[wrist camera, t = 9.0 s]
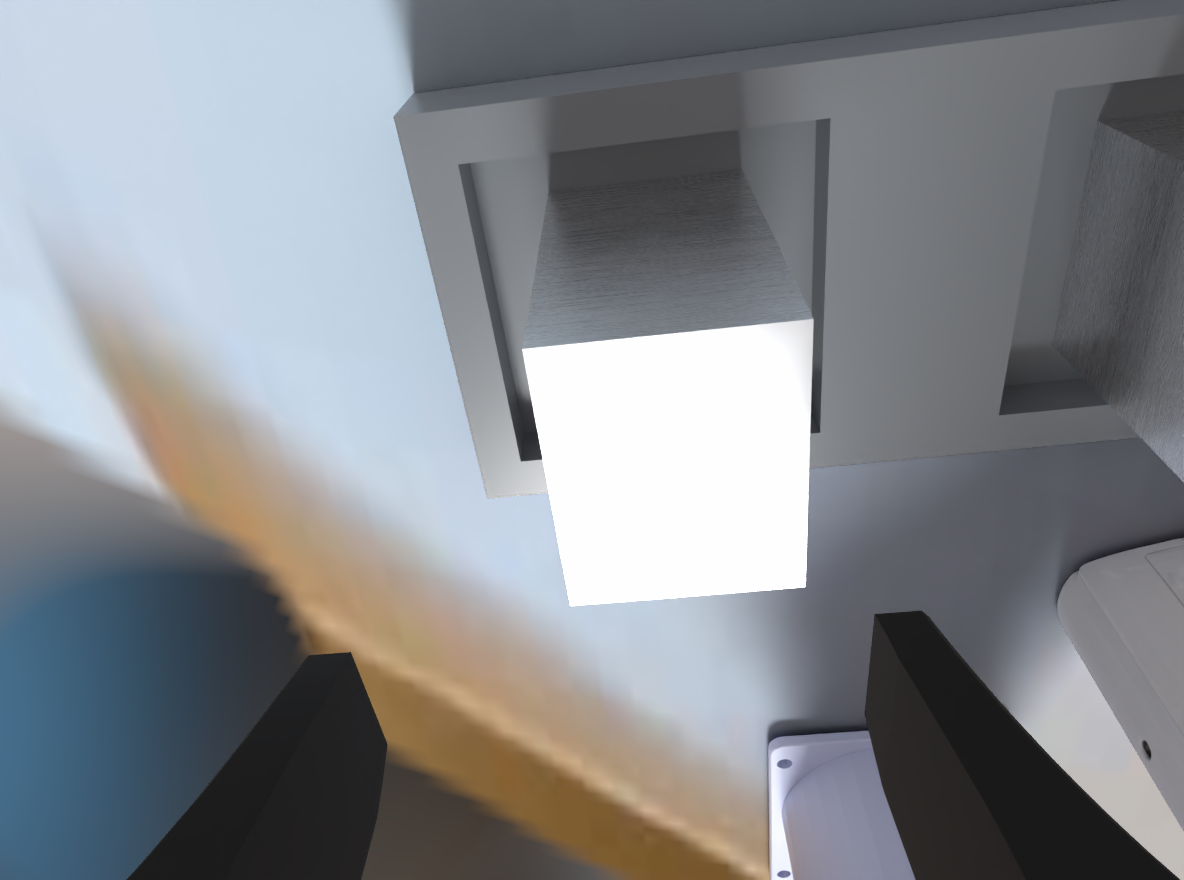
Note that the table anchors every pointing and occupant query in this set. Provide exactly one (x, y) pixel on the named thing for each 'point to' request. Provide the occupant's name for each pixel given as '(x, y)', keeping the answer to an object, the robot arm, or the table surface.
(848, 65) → the pallet
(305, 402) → the table surface
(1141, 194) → the block
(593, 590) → the block
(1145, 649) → the white tombstone slab
